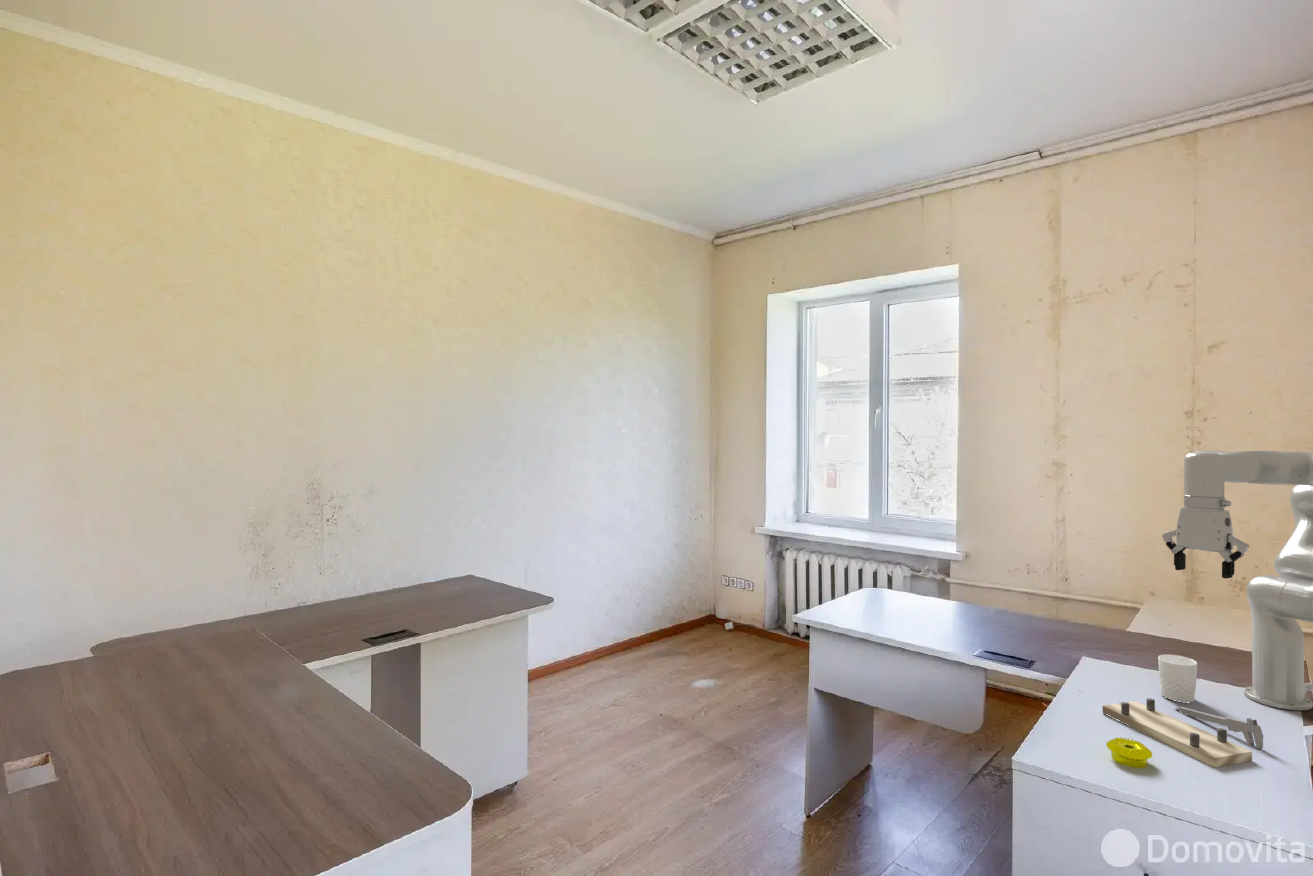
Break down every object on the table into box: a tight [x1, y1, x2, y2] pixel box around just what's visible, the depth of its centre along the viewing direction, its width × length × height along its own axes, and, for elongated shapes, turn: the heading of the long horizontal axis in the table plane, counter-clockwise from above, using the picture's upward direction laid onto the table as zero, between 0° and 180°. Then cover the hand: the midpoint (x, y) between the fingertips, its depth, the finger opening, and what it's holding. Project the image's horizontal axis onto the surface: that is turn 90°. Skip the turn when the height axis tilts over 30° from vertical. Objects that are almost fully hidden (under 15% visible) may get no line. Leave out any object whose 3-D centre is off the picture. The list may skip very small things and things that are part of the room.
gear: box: [1105, 737, 1153, 769], centre depth 138 cm, size 8×4×8 cm
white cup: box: [1157, 654, 1198, 704], centre depth 167 cm, size 8×8×10 cm
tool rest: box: [1102, 697, 1253, 768], centre depth 148 cm, size 10×26×4 cm, turn 13°
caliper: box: [1174, 706, 1264, 750], centre depth 151 cm, size 20×1×6 cm, turn 7°
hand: (1203, 573), depth 157 cm, fingers open, 9 cm apart
